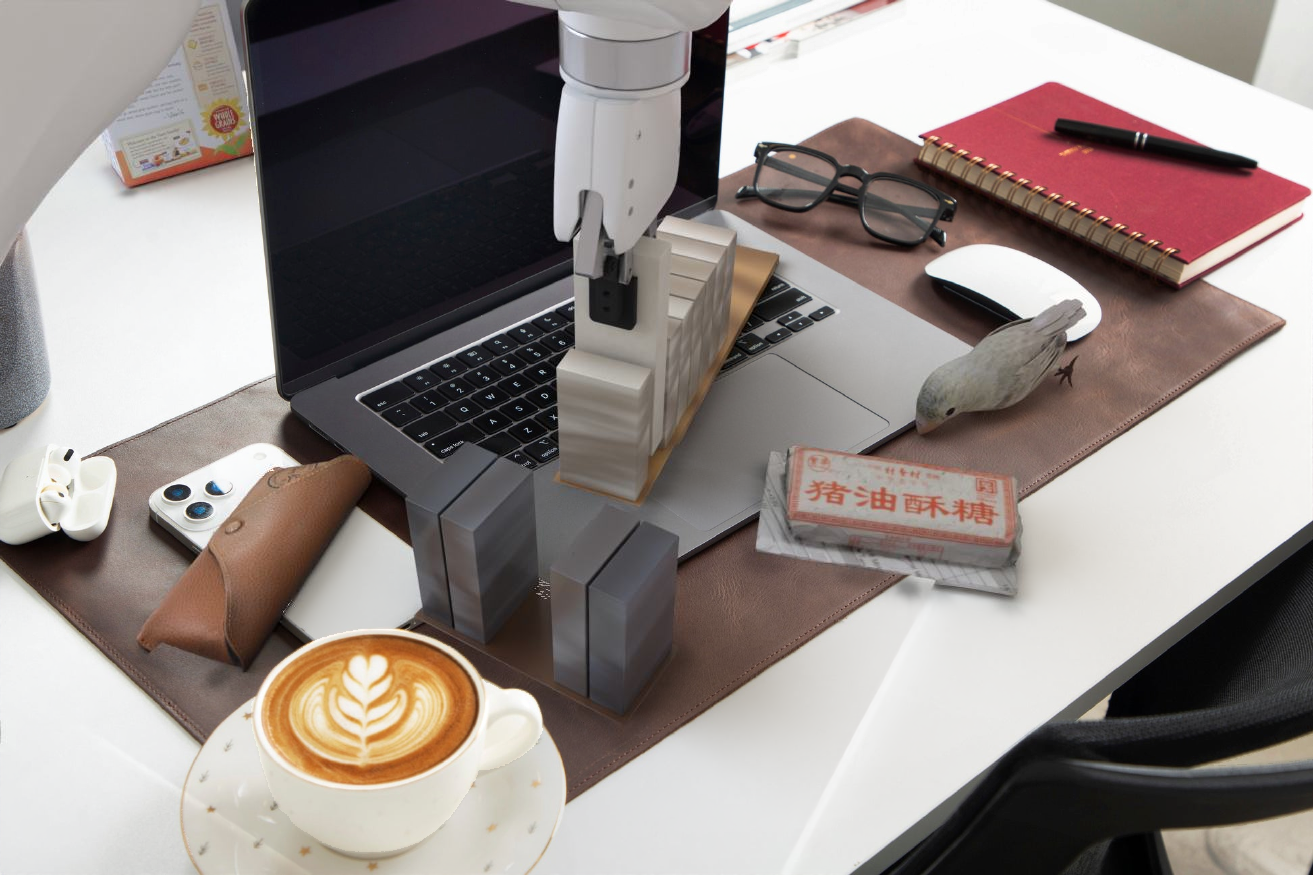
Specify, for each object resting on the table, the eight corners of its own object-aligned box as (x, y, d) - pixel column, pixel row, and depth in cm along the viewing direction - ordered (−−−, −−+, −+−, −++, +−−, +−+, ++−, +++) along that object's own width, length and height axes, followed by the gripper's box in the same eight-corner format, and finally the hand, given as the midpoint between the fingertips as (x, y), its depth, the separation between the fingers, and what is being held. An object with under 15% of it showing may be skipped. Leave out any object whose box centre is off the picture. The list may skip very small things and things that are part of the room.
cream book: (652, 456, 83) (660, 259, 72) (576, 435, 85) (572, 238, 73) (662, 438, 85) (672, 242, 74) (588, 417, 86) (586, 222, 75)
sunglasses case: (268, 460, 85) (296, 410, 81) (350, 510, 86) (383, 464, 82) (126, 648, 72) (150, 601, 67) (225, 704, 73) (256, 661, 69)
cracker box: (241, 131, 124) (195, -70, 110) (262, 154, 120) (217, -51, 106) (108, 165, 117) (41, -44, 103) (126, 190, 114) (59, -23, 100)
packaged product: (1023, 452, 82) (1032, 554, 75) (1007, 500, 85) (1014, 602, 78) (773, 417, 84) (758, 513, 77) (767, 465, 87) (752, 561, 80)
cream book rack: (640, 516, 83) (644, 394, 75) (552, 490, 84) (547, 368, 77) (778, 263, 108) (792, 152, 100) (708, 247, 110) (717, 136, 102)
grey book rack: (680, 655, 74) (690, 532, 66) (624, 735, 69) (627, 613, 61) (479, 557, 79) (466, 433, 72) (414, 625, 75) (393, 501, 67)
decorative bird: (892, 417, 92) (909, 342, 87) (1033, 355, 99) (1056, 283, 94) (938, 456, 89) (959, 380, 84) (1081, 390, 95) (1108, 316, 90)
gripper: (617, -12, 72) (614, 240, 84) (502, 91, 60) (519, 366, 73) (731, 8, 70) (711, 263, 82) (635, 119, 58) (628, 395, 71)
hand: (621, 309), depth 77 cm, fingers closed on cream book, 2 cm apart
